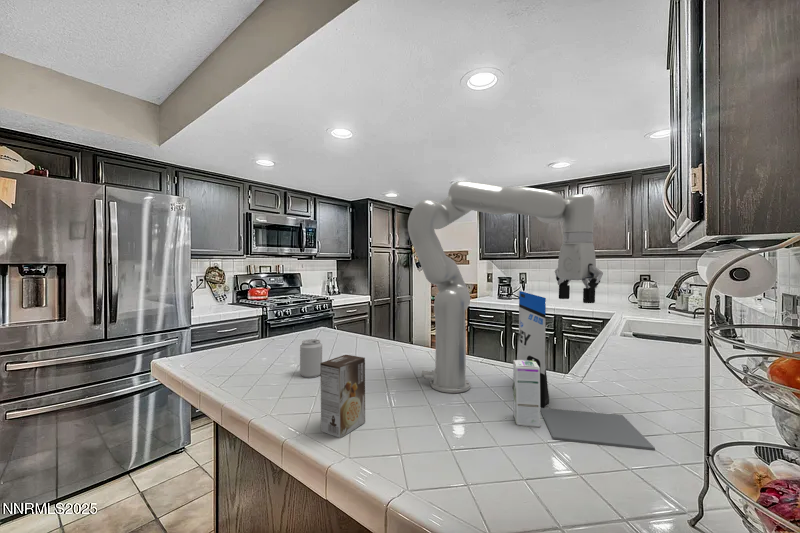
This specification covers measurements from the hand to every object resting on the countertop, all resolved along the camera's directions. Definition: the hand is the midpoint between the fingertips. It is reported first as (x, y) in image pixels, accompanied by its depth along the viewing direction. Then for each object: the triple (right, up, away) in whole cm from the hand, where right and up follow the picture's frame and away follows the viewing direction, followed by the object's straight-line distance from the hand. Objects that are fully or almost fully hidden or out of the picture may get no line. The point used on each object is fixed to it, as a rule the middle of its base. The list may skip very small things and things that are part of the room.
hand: (575, 300), depth 95 cm
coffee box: (-63, -29, -15) cm, 71 cm away
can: (-80, -28, +23) cm, 88 cm away
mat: (-4, -29, -14) cm, 32 cm away
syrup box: (-18, -29, -11) cm, 36 cm away
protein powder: (-10, -29, +8) cm, 31 cm away
